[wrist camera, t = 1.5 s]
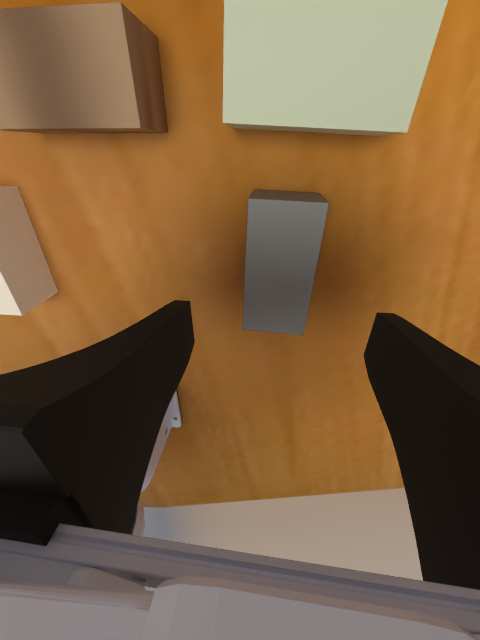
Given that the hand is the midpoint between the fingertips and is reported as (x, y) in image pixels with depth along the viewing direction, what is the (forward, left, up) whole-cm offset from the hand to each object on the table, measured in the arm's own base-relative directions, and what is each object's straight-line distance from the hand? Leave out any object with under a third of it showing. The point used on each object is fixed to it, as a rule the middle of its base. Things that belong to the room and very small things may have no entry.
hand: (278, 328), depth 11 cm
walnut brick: (+9, +11, -10) cm, 17 cm away
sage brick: (+9, -1, -10) cm, 13 cm away
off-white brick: (0, +20, -10) cm, 22 cm away
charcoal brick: (0, 0, -10) cm, 10 cm away
